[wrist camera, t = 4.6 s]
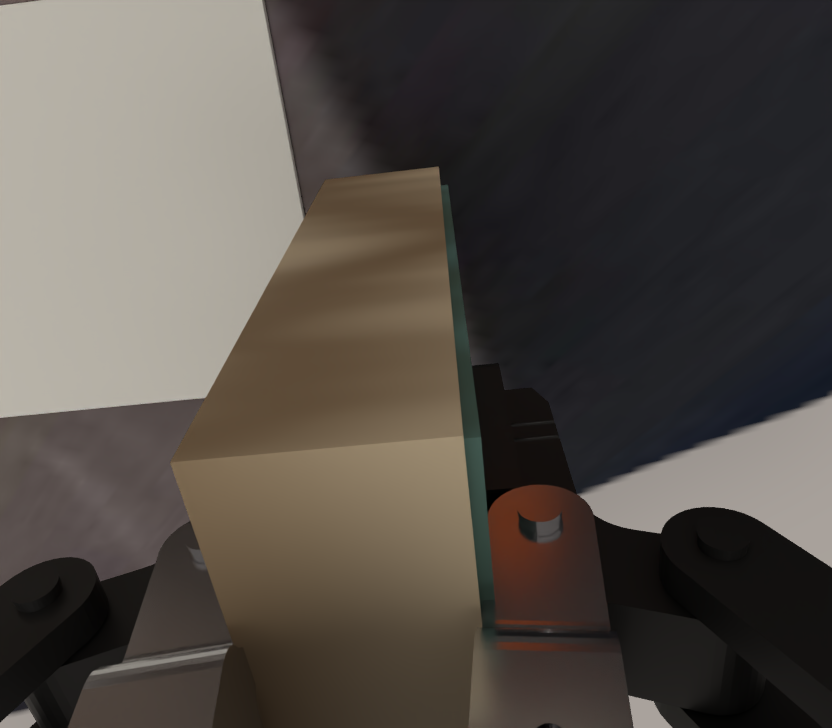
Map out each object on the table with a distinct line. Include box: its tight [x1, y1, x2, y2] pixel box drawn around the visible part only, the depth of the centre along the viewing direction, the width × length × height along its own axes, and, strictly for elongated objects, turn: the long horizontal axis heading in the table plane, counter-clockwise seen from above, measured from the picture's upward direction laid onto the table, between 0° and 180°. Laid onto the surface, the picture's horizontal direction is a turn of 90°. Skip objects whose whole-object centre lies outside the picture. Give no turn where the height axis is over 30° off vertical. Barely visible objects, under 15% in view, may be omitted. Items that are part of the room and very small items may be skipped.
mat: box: [0, 0, 305, 418], centre depth 27 cm, size 16×16×1 cm
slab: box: [170, 167, 495, 728], centre depth 12 cm, size 3×7×10 cm, turn 7°
